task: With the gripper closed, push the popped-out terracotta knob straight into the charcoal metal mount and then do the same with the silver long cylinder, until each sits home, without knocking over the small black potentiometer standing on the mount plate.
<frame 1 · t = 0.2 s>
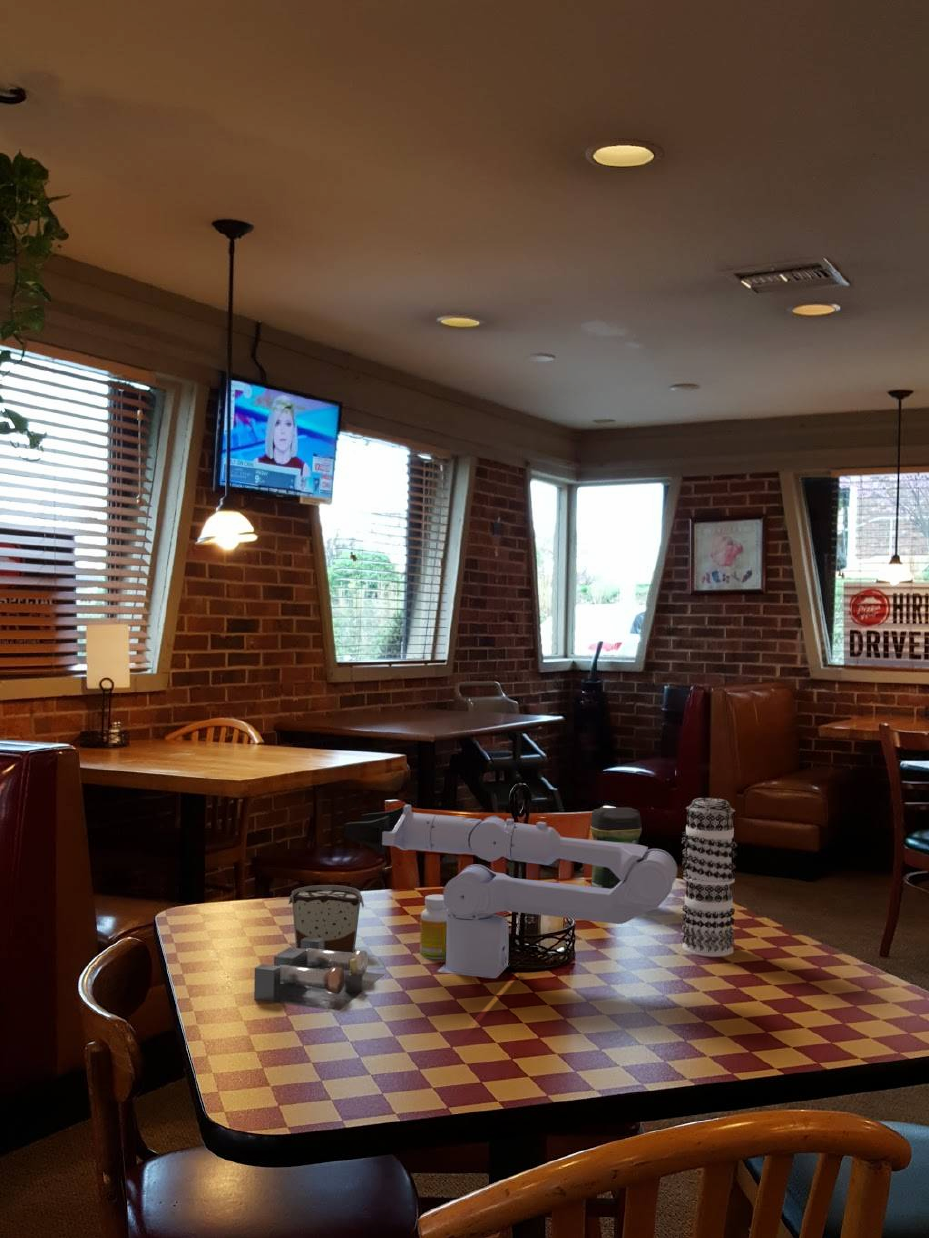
hand: (353, 825, 186), 21 cm above the table, tool horizontal, fingers open, 7 cm apart
decorative candle: (707, 950, 194), on the table
potentiometer: (353, 989, 169), point 1 cm above the table, touching mount
supplement bottle: (436, 958, 188), on the table
coffee jar: (614, 905, 224), on the table
silver long cylinder: (334, 959, 174), point 3 cm above the table, slide at 4.0 cm
terracotta knob: (309, 977, 166), point 3 cm above the table, slide at 4.0 cm
food container: (329, 950, 191), on the table
mount: (299, 987, 171), on the table
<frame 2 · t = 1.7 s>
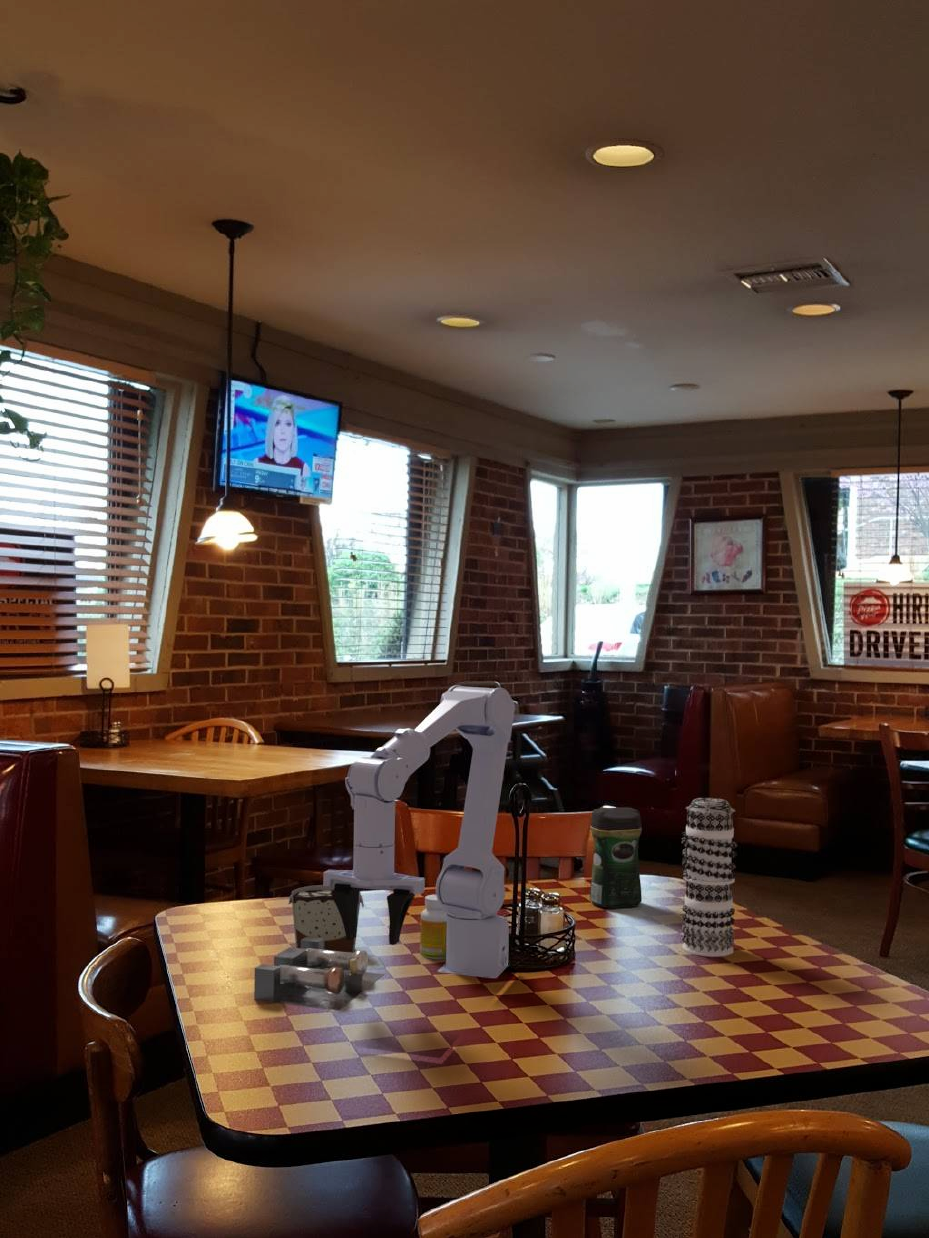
hand: (372, 940, 163), 9 cm above the table, tool pointing down, fingers open, 6 cm apart
nothing on the table moved.
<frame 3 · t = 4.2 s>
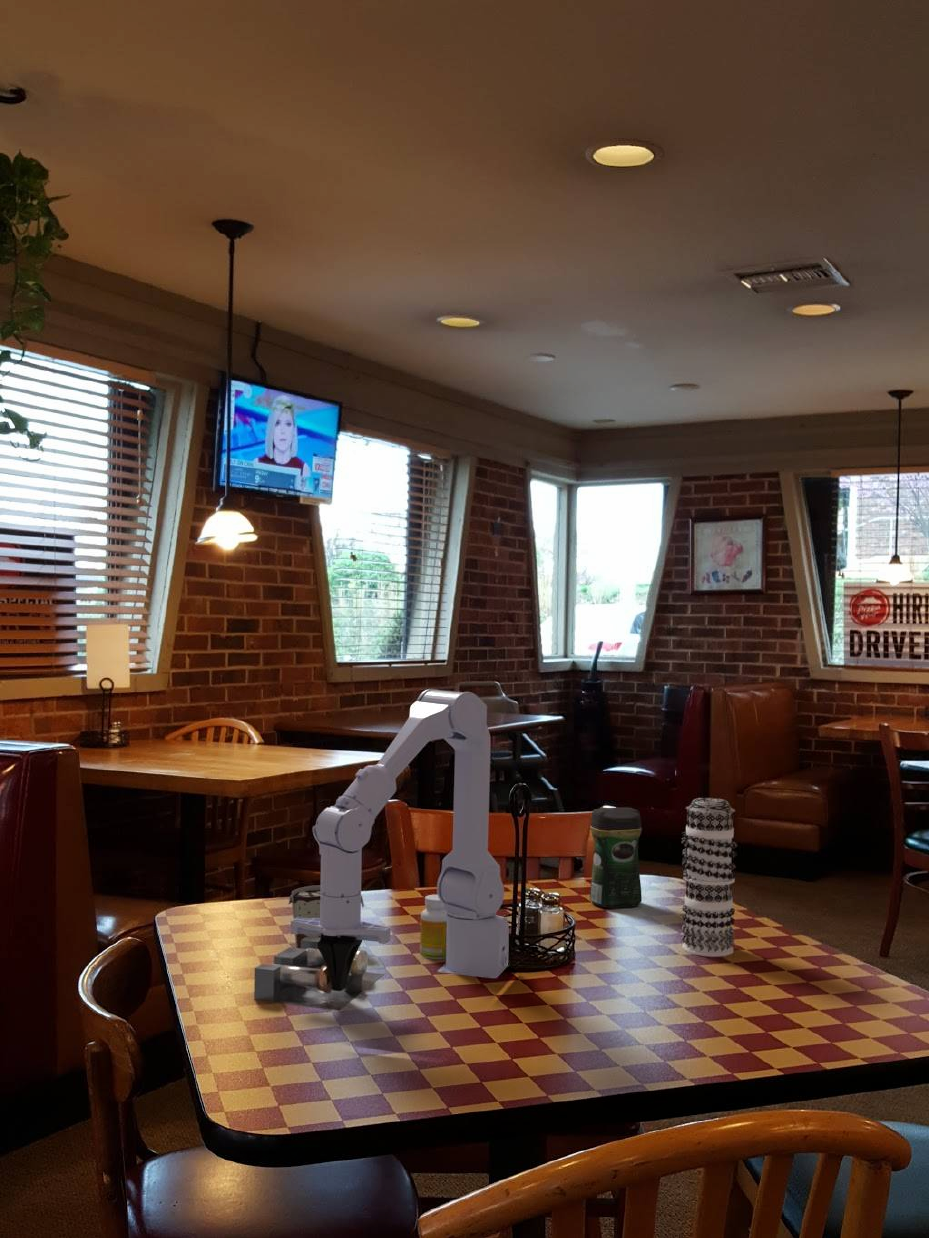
hand: (339, 988, 164), 2 cm above the table, tool pointing down, fingers closed
terracotta knob: (300, 976, 166), point 3 cm above the table, slide at 2.6 cm, touching gripper
everything else where it was.
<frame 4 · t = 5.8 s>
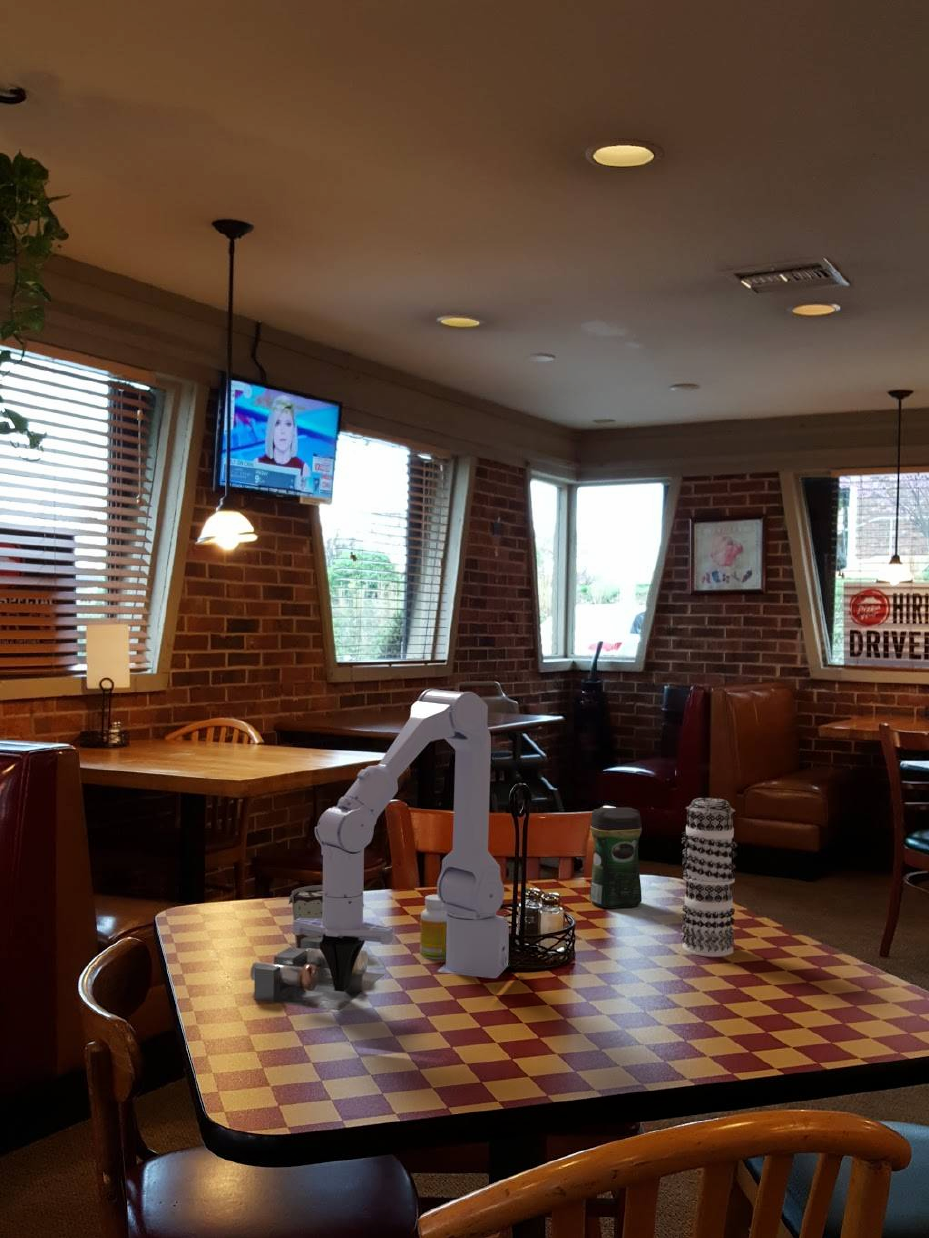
hand: (341, 989, 164), 2 cm above the table, tool pointing down, fingers closed
terracotta knob: (283, 974, 167), point 3 cm above the table, slide at -0.1 cm
everything else where it was.
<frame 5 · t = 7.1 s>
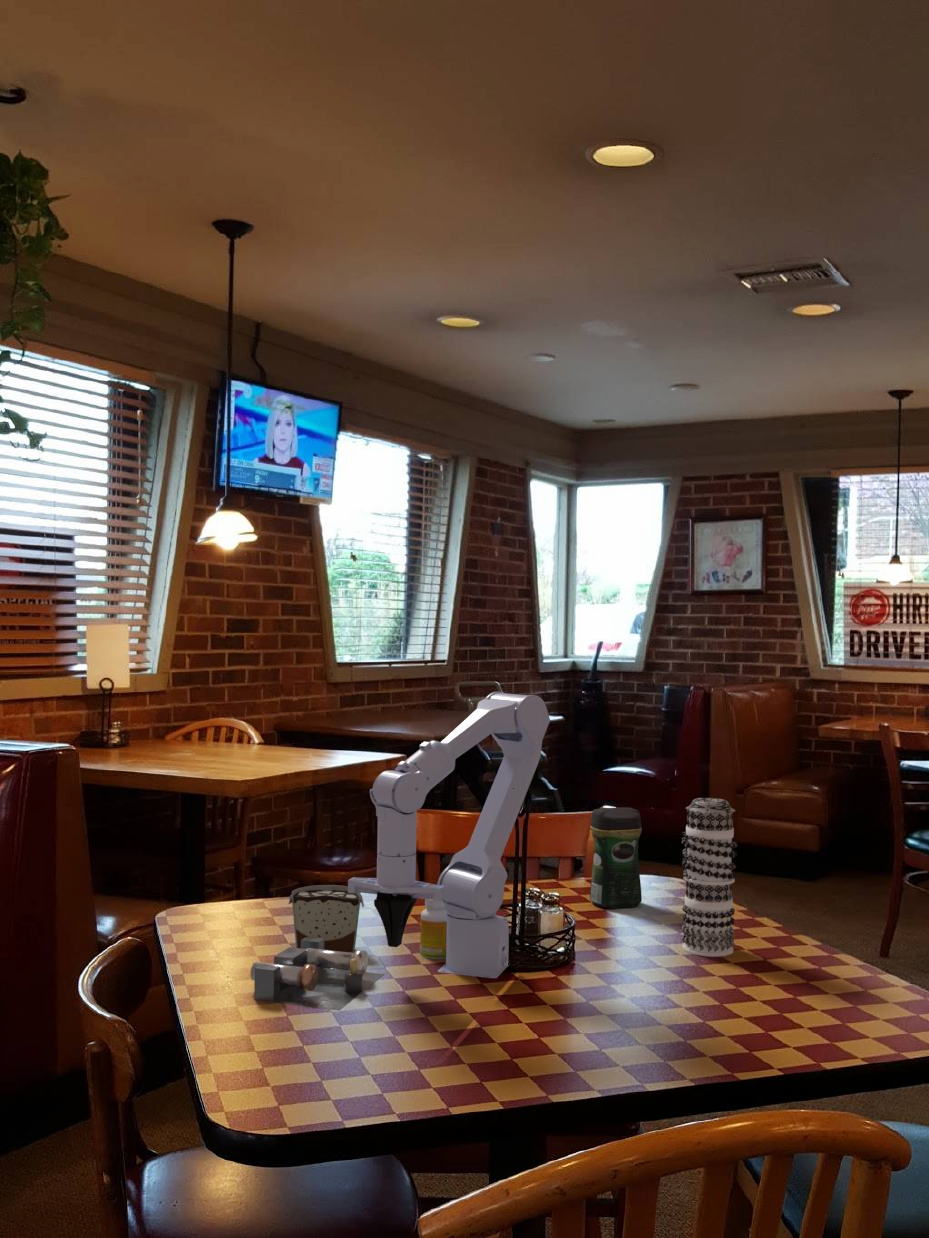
hand: (394, 945, 172), 6 cm above the table, tool pointing down, fingers closed
nothing on the table moved.
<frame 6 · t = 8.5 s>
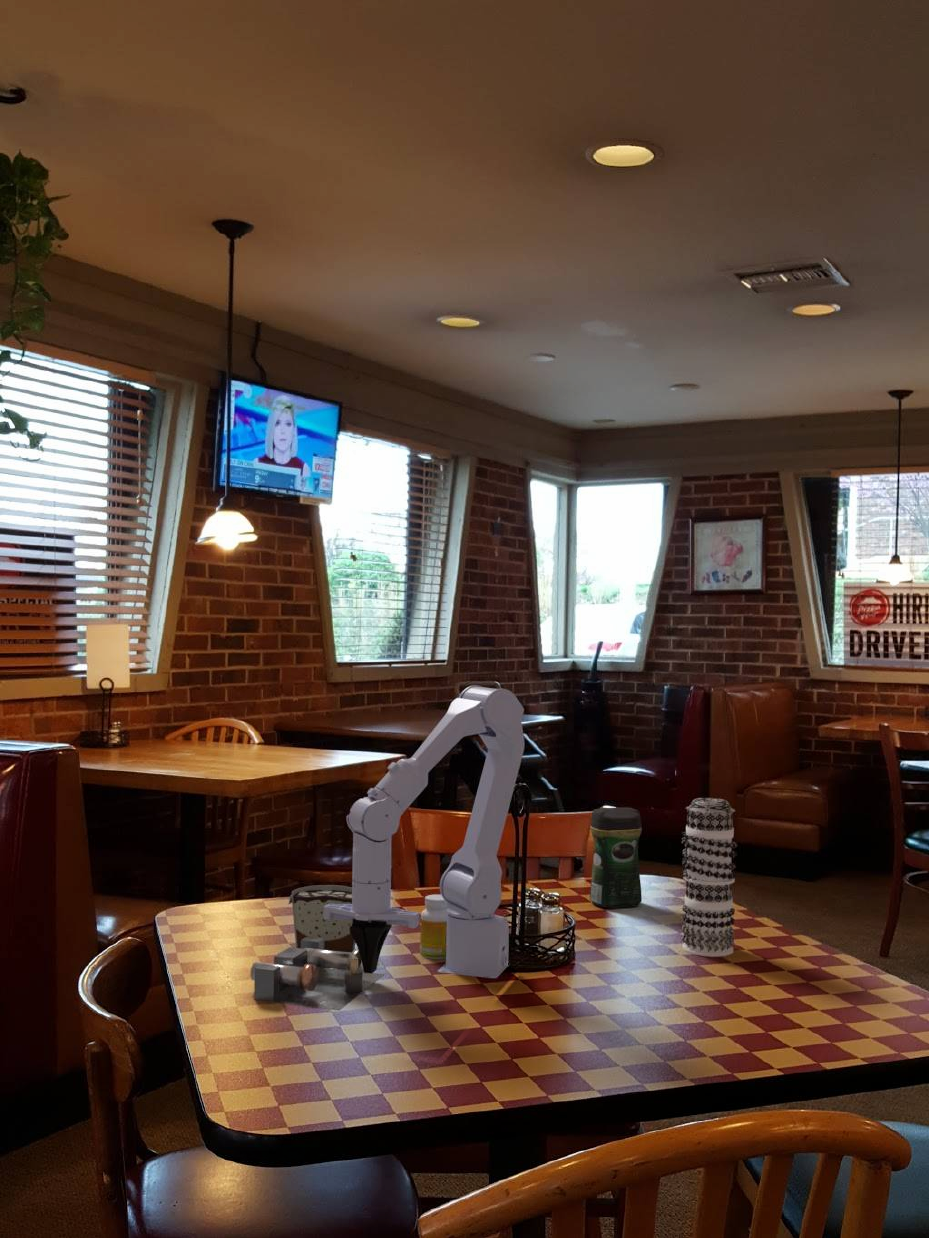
hand: (370, 971, 173), 2 cm above the table, tool pointing down, fingers closed
silver long cylinder: (332, 959, 175), point 3 cm above the table, slide at 3.7 cm, touching gripper
everything else where it was.
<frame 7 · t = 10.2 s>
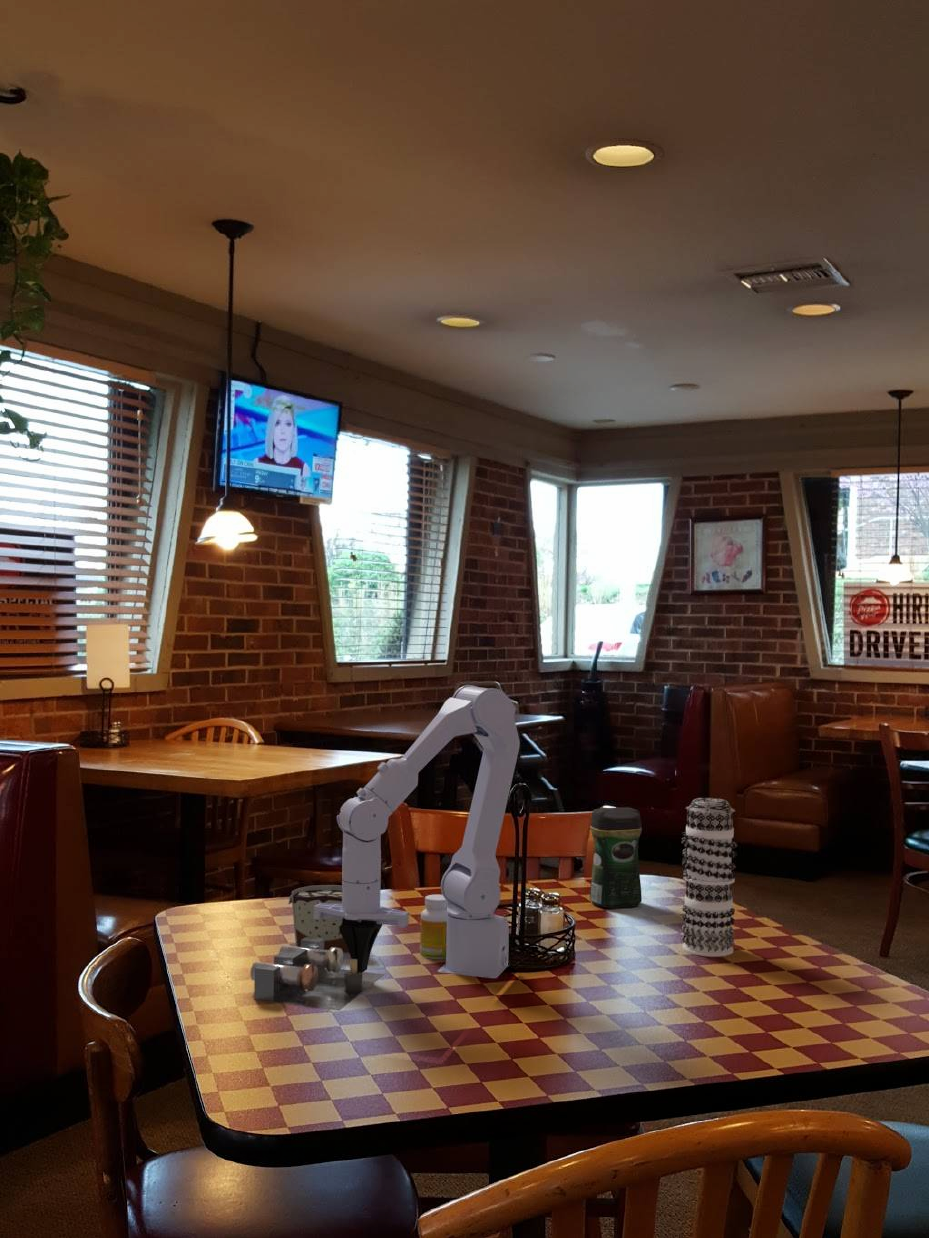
hand: (360, 970, 173), 2 cm above the table, tool pointing down, fingers closed
silver long cylinder: (310, 957, 176), point 3 cm above the table, slide at -0.1 cm
everything else where it was.
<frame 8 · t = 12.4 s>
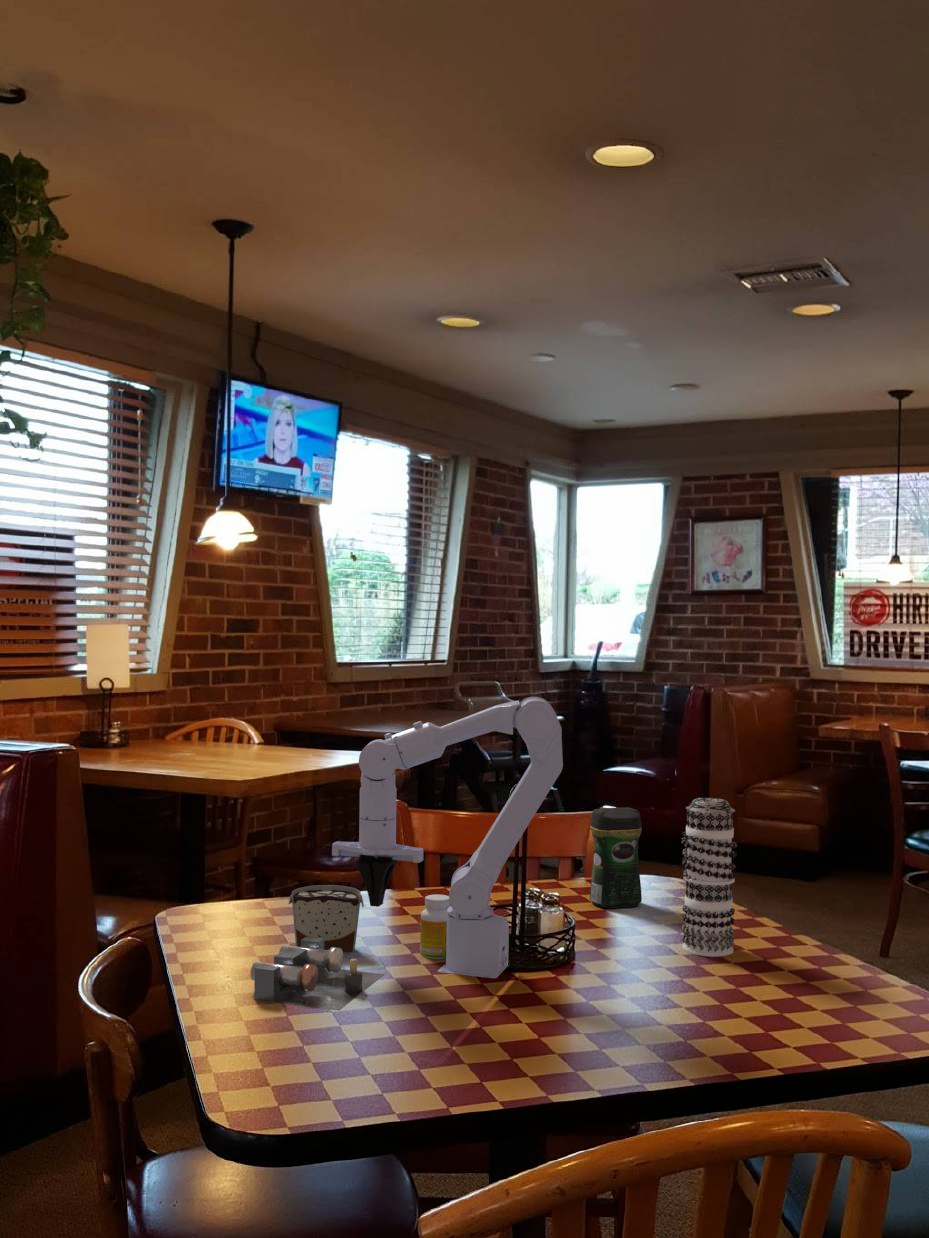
hand: (376, 904, 181), 10 cm above the table, tool pointing down, fingers closed
nothing on the table moved.
at the end: terracotta knob slide at -0.1 cm; silver long cylinder slide at -0.1 cm; potentiometer tilted 0° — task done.
